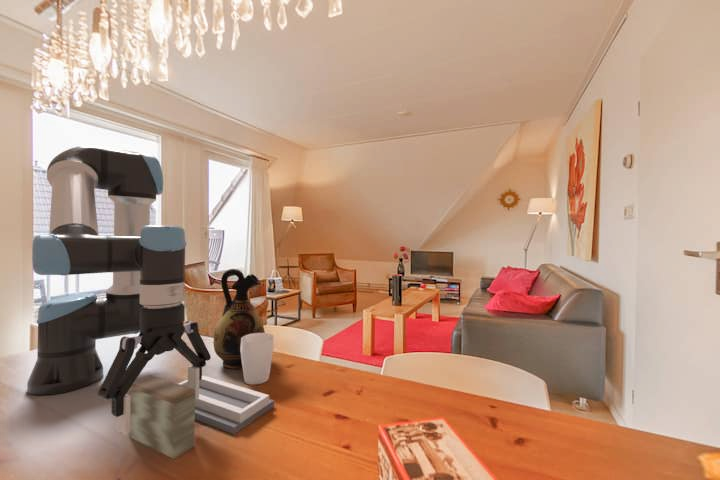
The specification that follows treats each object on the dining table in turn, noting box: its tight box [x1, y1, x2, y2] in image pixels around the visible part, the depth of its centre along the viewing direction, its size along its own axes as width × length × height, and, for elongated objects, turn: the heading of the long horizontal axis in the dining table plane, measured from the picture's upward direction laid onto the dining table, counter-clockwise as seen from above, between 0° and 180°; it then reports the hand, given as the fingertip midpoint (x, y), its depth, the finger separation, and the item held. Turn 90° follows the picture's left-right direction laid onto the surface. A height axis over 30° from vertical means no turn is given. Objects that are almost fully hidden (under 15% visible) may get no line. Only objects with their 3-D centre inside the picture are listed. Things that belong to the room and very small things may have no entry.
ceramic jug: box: [212, 268, 266, 370], centre depth 101 cm, size 17×15×30 cm
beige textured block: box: [128, 374, 196, 460], centre depth 62 cm, size 14×4×11 cm, turn 64°
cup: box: [240, 332, 275, 386], centre depth 90 cm, size 9×9×12 cm
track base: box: [177, 374, 275, 435], centre depth 75 cm, size 24×12×4 cm, turn 64°
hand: (161, 412), depth 62 cm, fingers open, 13 cm apart
